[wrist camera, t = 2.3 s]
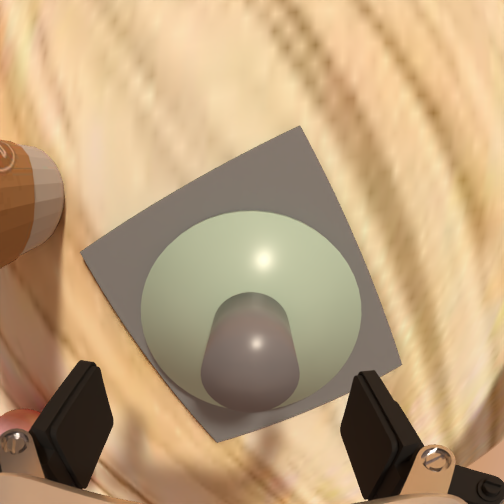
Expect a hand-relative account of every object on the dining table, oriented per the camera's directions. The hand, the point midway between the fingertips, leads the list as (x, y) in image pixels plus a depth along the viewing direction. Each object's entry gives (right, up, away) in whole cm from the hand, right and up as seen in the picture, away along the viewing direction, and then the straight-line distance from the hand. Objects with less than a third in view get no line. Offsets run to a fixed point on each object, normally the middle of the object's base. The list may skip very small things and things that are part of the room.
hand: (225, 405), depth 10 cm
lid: (+1, +2, +7) cm, 7 cm away
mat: (+1, +2, +8) cm, 8 cm away
